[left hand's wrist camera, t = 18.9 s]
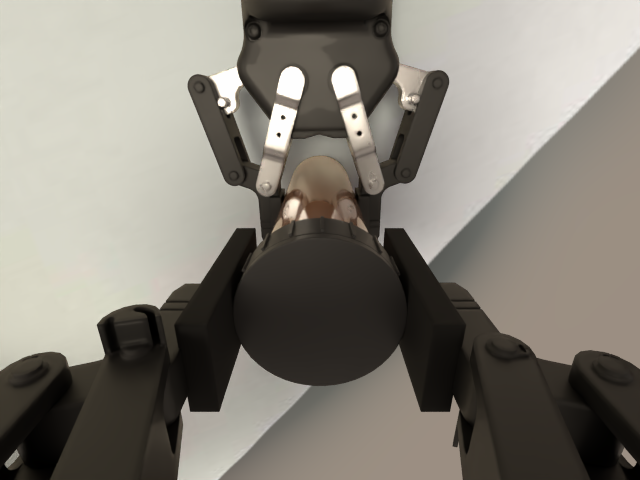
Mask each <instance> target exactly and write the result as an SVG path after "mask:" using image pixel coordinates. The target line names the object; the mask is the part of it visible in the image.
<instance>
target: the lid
mask: <svg viewBox="0 0 640 480" xmlns="http://www.w3.org/2000/svg"><path fill="white" fill-rule="evenodd" d="M242 272H244V273H243V275H242V277H241V280H240V282H239V284H238V287H237V289H236V292H235V296H234V301H233V318H234V326H235V330H236V333H237V336H238V338H239V340H240V342H241V344H242V346H243V347H244V349H245V350H246V352H247V353H248V354H249V355H250V357H251V358H252V359H253V360H254V361H255V362H256V363H258V364H259V365H260V366H261V367H263V368H264V369H265V370H267V371H268V372H270V373H272V374H274V375H275V376H278V377H280V378H282V379H285V380H288V381H291V382H294V383H299V384H303V385H312V386H328V385H337V384H342V383H346V382H349V381H353V380H356V379H358V378H360V377H362V376H365V375H366V374H368V373H370V372H372V371H373V370H375V369H376V368H377V367H379V366H380V365H382V364H383V363H384V362H385V361H386V360H387V359H388V358H389V357H390V356H391V354H392V353H393V352H394V351H395V349H396V348H397V346H398V344H399V343H400V341H401V339H402V336H403V334H404V331H405V327H406V320H407V300H406V295H405V292H404V289H403V286H402V284H401V281H400V279H399V277H398V276H399V275H400V273H399V271H398V268H397V266H396V264H395V262H394V260H393V258H392V256H390V257H389V255H388V254H387V252H386V250H385V249H384V248H383V246H382V245H381V244H380V243H379V241H378V239H377V237H376V236H375V235H374V236H372V235H370V234H369V233H368V232H366V231H365V230H363V229H361V228H359V227H357V226H355V225H353V222H351V221H350V222H349V223H348V222H345V221H341V220H337V219H329V218H324V216H321V218H311V219H304V220H300V221H296V222H295V220H292V221H291V223H290V224H287V225H285V226H283V227H281V228H279V229H277V230H276V231H274V232H273V233H271V234H270V233H268V234H267V235H266V237H265V239H264V240H263V241H262V242H261V243H260V244H259V245H258V247H257V248H256V249H255V251H254V252H253V253H250V254H249V256H248V258H247V261H246V263H245V265H244V267H243V269H242Z"/></svg>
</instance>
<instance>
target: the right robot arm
mask: <svg viewBox="0 0 640 480" xmlns="http://www.w3.org/2000/svg"><path fill="white" fill-rule="evenodd" d="M241 5H242V17H243V29H244V41H243V47H242V50H241V53H240V55H239V58H238V61H237V67H234V68H231V69H228V70H225V71H222V72H219V73H217V74H214V75H211V76H204V75H199V74H197V75H193V76H192V77H191V78H190V79H189V81H188V90H189V93H190V95H191V98H192V100H193V103H194V105H195V108H196V110H197V113H198V115H199V117H200V120H201V122H202V125H203V127H204V130H205V132H206V135H207V137H208V140H209V142H210V145H211V147H212V150H213V152H214V155H215V157H216V160H217V162H218V165H219V167H220V170H221V172H222V175H223V177H224V179H225V181H226V182H227V183H228V184H229V185H232V186H238V185H240V186H243V187H246V188H249V189H251V190H253V191H254V192H255V193H256V194H257V196H258V199H259V209H260V221H261V232H262V238H263V240H264V239H265V237H266V235H267V234H268V233H270V234H271V232H272V229H273V227H274V224H275V221H276V219H277V216H278V213H279V210H280V208H281V205H282V202H283V200H284V197H285V189H281V179H282V175H283V171H284V167H285V164H286V160H287V156H288V153H289V150H290V147H291V143H292V139H305V138H308V137H312V136H315V135H319V134H320V135H324V136H328V137H332V138H346V139H347V142H348V145H349V148H350V151H351V154H352V157H353V160H354V164H355V167H356V170H357V173H358V177H359V188H355V197H356V199H357V202H358V205H359V207H360V210H361V213H362V216H363V218H364V221H365V224H366V226H367V229H368V232H369V234H370V235H372V236H374V235H375V236H376V237H377V239H378V237H379V231H380V210H381V196H382V194H383V192H384V191H385V190H386V189H387V188H388V187H390V186H393V185H396V184H398V183H409V182H411V181H413V179H414V178H415V176H416V174H417V171H418V168H419V166H420V163H421V160H422V157H423V155H424V152H425V149H426V146H427V144H428V141H429V138H430V135H431V133H432V130H433V127H434V124H435V122H436V119H437V116H438V113H439V111H440V108H441V105H442V102H443V99H444V97H445V94H446V91H447V88H448V85H449V78H448V75H447V74H446V73H445V72H443V71H440V70H437V71H431V72H427V71H423V70H420V69H417V68H413V67H410V66H407V65H403V64H400V63H399V58H398V55H397V53H396V51H395V49H394V46H393V42H392V37H391V18H392V0H241ZM392 84H394V85H396V87H397V88H398V92H399V95H398V104H399V106H400V107H401V108H402V109H404V110H405V113H404V116H403V119H402V122H401V125H400V128H399V131H398V134H397V137H396V140H395V143H394V146H393V149H392V152H391V155H390V158H389V160H387V161H385V162H382V163H379V162H378V158H377V155H376V148H375V144H374V140H373V137H372V133H371V130H370V126H369V123H368V117H369V116H370V115H371V113H372V112H373V110H374V109H375V108H376V106H377V105H378V103H379V102H380V100H381V99H382V98H383V96H384V95H385V93H386V92H387V91H388V89H389V88H390V86H391V85H392ZM242 87H245V88H246V89H247V91H248V92H249V93H250V95H251V96H252V97H253V98H254V100H255V101H256V102H257V104H258V105H259V106H260V108H261V109H262V110H263V112H264V113H265V114H266V116H267V117H268V118H269V119H270V124H269V128H268V132H267V136H266V141H265V145H264V149H263V157H262V161H261V166H260V165H257V164H254V163H251V162H250V159H249V156H248V154H247V151H246V148H245V145H244V143H243V140H242V137H241V135H240V132H239V129H238V126H237V124H236V121H235V118H234V116H233V113H235V112H236V111H237V110H238V108H239V106H240V101H239V92H240V90H241V88H242Z"/></svg>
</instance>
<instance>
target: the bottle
mask: <svg viewBox="0 0 640 480" xmlns="http://www.w3.org/2000/svg"><path fill="white" fill-rule="evenodd" d="M321 216H324V218H329V219H337V220H341V221H345V222H348V223H349V222H350V221H351V222H353V225H355V226H357V227H359V228H361V229H363V230H365V231H366V232H368V229H367V226H366V224H365V221H364V218H363V216H362V213H361V210H360V207H359V205H358V202H357V199H356V197H355V194H354V191H353V189H352V186H351V183H350V180H349V178H348V175H347V173H346V171H345V169H344V167H343V166H342V165H341V164H340V163H339V162H338V161H336V160H335V159H332V158H330V157H327V156H313V157H310V158H308V159H306V160H304V161H303V162H301V163H300V164H299V165H298V166H297V168H296V169H295V171H294V173H293V175H292V178H291V181H290V183H289V186H288V189H287V191H286V194H285V197H284V200H283V202H282V205H281V208H280V210H279V213H278V216H277V219H276V221H275V224H274V227H273V229H272V232H271V233H273V232H274V231H276V230H277V229H279V228H281V227H283V226H285V225H287V224H290V223H291V221H292V220H295V222H296V221H300V220H304V219H311V218H321ZM368 233H369V232H368Z"/></svg>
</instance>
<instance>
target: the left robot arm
mask: <svg viewBox="0 0 640 480" xmlns="http://www.w3.org/2000/svg"><path fill="white" fill-rule="evenodd" d="M256 248H257V244H256V230H255V228H237V229H236V230H235V232H234V233H233V235H232V236H231V238H230V240H229V241H228V243H227V244H226V246H225V247H224V249H223V250H222V252H221V253H220V255H219V256H218V258H217V259H216V261H215V263H214V264H213V266H212V267H211V269H210V270H209V272H208V273H207V275H206V276H205V278H204V279H203V281H202V282H201V284H184V285H183V286H181V287H180V288H178V289H177V290H175V291H174V292H173V293H172V294H171V295H170V296H169V298H168V299H167V300H166V303H164V304H163V306H162V307H161V308H160V310H159V309H158V308H157V307H156V306H152V305H147V304H142V305H132V306H128V307H123V308H121V309H118V310H116V311H113V312H111V313H110V314H108V315H107V316H105V317H103V318H102V319H101V320H100V322H99V323H98V324H97V327H98V331H99V334H100V338H101V341H102V345H103V348H104V352H105V357H104V359H103V360H99V361H95V362H91V363H86V364H81V365H76V366H71V367H69V366H68V363H67V360H66V357H65V356H64V355H62V354H61V353H56V352H45V353H38V354H34V355H32V356H27V357H24V358H22V359H21V360H19V361H17V362H14V363H12V364H10V365H9V366H7V367H6V368H5V369H3V370H2V371H0V480H177V477H178V467H179V458H180V449H181V439H182V430H183V421H182V416H181V409H182V407H183V404H184V402H185V400H186V398H187V397H188V402H189V407H190V412H219V411H220V408H221V405H222V402H223V398H224V395H225V392H226V389H227V386H228V383H229V380H230V377H231V374H232V371H233V368H234V365H235V361H236V358H237V355H238V352H239V349H240V346H241V342H240V340H239V338H238V336H237V333H236V330H235V326H234V318H233V301H234V296H235V292H236V289H237V287H238V284H239V282H240V280H241V277H242V275H243V273H244V272H242V269H243V267H244V265H245V263H246V261H247V258H248V256H249V254H250V253H253V252H254V251H255V249H256ZM383 248H384V249H385V250H386V252H387V254H388V255H389V257H390V256H392V258H393V260H394V262H395V264H396V266H397V268H398V271H399V273H400V275H399V276H398V277H399V279H400V281H401V284H402V286H403V289H404V292H405V295H406V300H407V320H406V327H405V331H404V334H403V336H402V339H401V341H400V343H399V345H400V348H401V352H402V355H403V358H404V361H405V364H406V367H407V370H408V373H409V376H410V379H411V382H412V385H413V388H414V392H415V395H416V398H417V401H418V404H419V407H420V410H421V412H450V409H451V403H452V398H453V395H454V398H455V400H456V402H457V404H458V407H459V409H460V411H459V416H458V421H457V425H456V431H455V436H454V441H453V446H454V447H457V446H458V442H459V448H460V457H461V466H462V476H463V480H640V369H639V368H637V367H636V366H634V365H633V364H631V363H630V362H628V361H625V360H623V359H621V358H620V357H618V356H615V355H612V354H609V353H605V352H599V351H592V350H589V351H581V352H579V353H578V354H577V355H575V358H574V361H573V364H572V366H571V365H566V364H561V363H557V362H552V361H547V360H543V359H539V358H536V356H535V354H534V353H533V351H532V350H531V349H530V347H529V346H527V345H526V344H525V343H523V342H522V341H521V340H519V339H516V338H514V337H512V336H510V335H506V334H502V333H500V332H499V331H498V330H497V328H496V327H495V326H494V325H493V323H492V322H491V321H490V319H489V318H488V317H487V315H486V314H485V313H484V312H483V310H482V309H480V306H479V305H478V304H477V303H476V302H475V301H474V299H473V297H472V296H471V295H470V294H469V292H468V291H467V290H466V289H464V288H462V287H461V286H459V285H458V284H456V283H439V282H438V281H437V279H436V277H435V276H434V274H433V273H432V271H431V270H430V268H429V267H428V265H427V264H426V262H425V261H424V259H423V258H422V256H421V255H420V253H419V251H418V250H417V248H416V247H415V245H414V244H413V242H412V241H411V239H410V238H409V236H408V235H407V233H406V232H405V230H404V228H385V233H384V247H383ZM624 447H625V448H626V450H627V451H628V452H629V453H630V454H631V456H632V457H633V458H634V459H635V460H636V461H637V463H636V465H635V466H634V467H633V466H632V465H631V464H629V463H628V462H627V460H626V459H625V458H624V457H623V456H622V454H621V453H622V451H623V449H624ZM16 449H17V451H18V453H19V455H20V456H19V457H18V458H17V459H16V460H15V462H14V463H13V464H12V465H10V466H9V467H8V468H6V466H5V464H4V463H5V462H6V461H7V460H8V459H9V457H10V456H11V455H12V454H13V453H14V451H15V450H16Z"/></svg>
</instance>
